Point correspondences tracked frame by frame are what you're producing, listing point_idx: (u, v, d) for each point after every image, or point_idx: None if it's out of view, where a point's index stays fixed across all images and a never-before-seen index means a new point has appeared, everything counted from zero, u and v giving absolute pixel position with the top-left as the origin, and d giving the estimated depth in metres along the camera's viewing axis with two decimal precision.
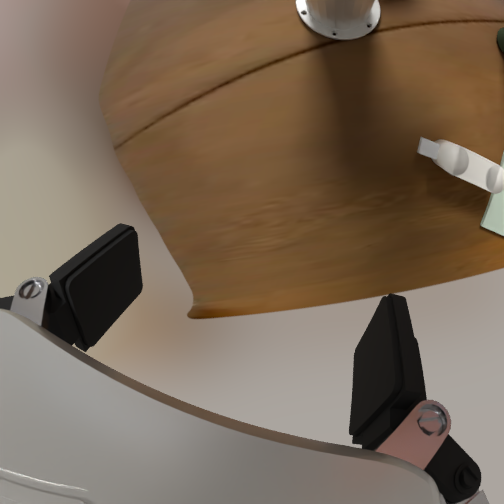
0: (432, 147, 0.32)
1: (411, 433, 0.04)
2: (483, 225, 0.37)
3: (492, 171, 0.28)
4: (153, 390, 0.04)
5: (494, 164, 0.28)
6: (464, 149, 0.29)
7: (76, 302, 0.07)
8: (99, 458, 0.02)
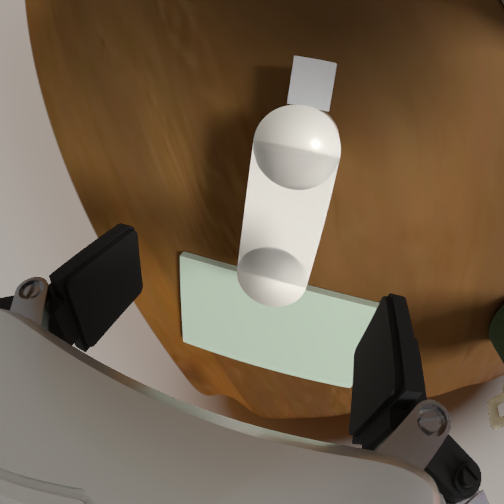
0: (316, 90, 0.14)
1: (411, 433, 0.04)
2: (182, 259, 0.26)
3: (287, 267, 0.17)
4: (153, 390, 0.04)
5: (307, 271, 0.17)
6: (332, 173, 0.13)
7: (76, 302, 0.07)
8: (99, 458, 0.02)
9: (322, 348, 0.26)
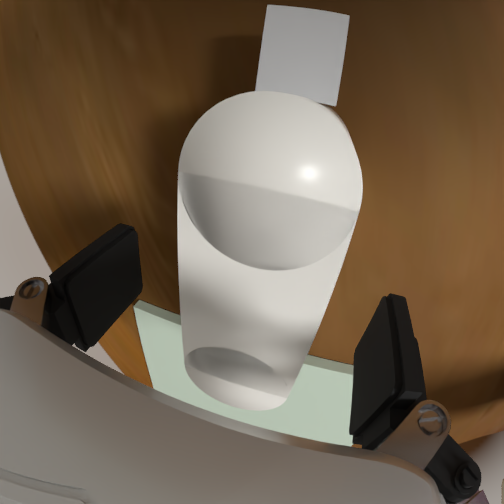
0: (312, 65, 0.07)
1: (411, 433, 0.04)
2: (137, 310, 0.19)
3: (257, 375, 0.10)
4: (153, 390, 0.04)
5: (288, 382, 0.10)
6: (340, 242, 0.06)
7: (76, 302, 0.07)
8: (99, 458, 0.02)
9: (316, 416, 0.19)
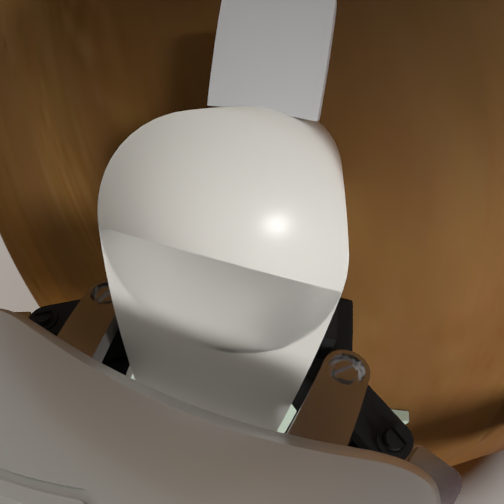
0: (283, 63, 0.05)
1: (329, 387, 0.06)
2: None
3: None
4: (153, 390, 0.04)
5: None
6: (313, 329, 0.05)
7: None
8: (99, 458, 0.02)
9: None
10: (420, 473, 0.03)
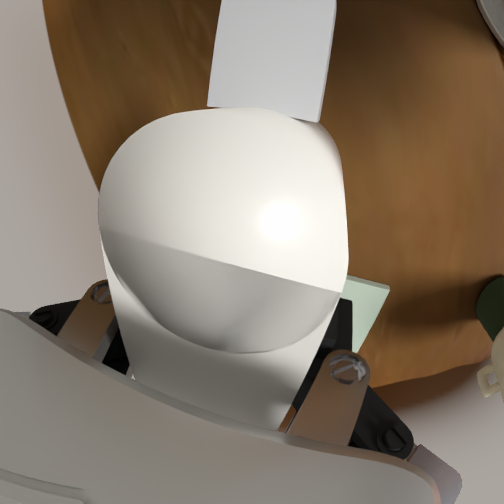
0: (283, 64, 0.05)
1: (329, 387, 0.06)
2: None
3: None
4: (153, 390, 0.04)
5: None
6: (313, 329, 0.05)
7: None
8: (99, 458, 0.02)
9: None
10: (420, 473, 0.03)
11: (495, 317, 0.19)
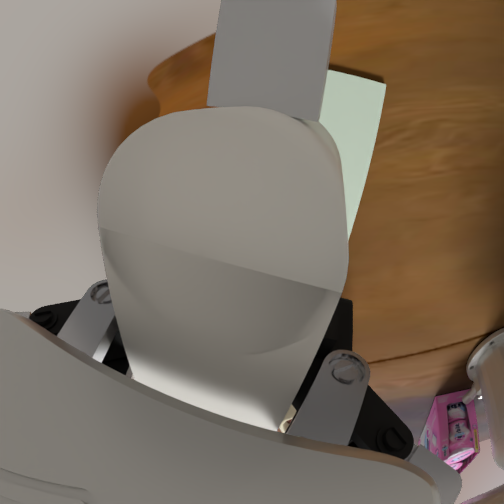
0: (283, 64, 0.05)
1: (329, 387, 0.06)
2: (382, 86, 0.20)
3: None
4: (153, 390, 0.04)
5: None
6: (313, 329, 0.05)
7: None
8: (99, 458, 0.02)
9: None
10: (420, 473, 0.03)
11: None
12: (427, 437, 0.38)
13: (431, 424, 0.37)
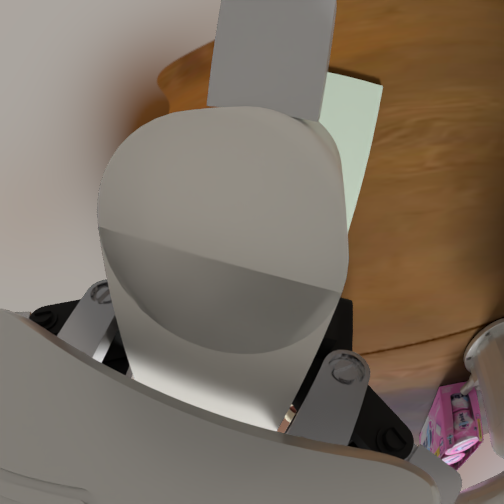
0: (283, 64, 0.05)
1: (329, 387, 0.06)
2: (379, 87, 0.22)
3: None
4: (153, 390, 0.04)
5: None
6: (313, 329, 0.05)
7: None
8: (99, 458, 0.02)
9: None
10: (420, 473, 0.03)
11: None
12: (430, 428, 0.40)
13: (434, 415, 0.38)
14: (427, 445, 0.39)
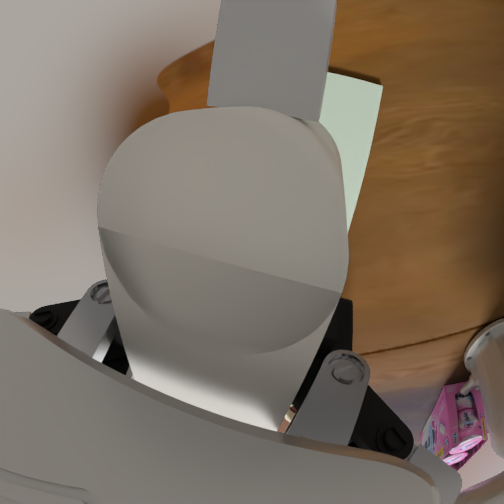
0: (283, 64, 0.05)
1: (329, 387, 0.06)
2: (379, 87, 0.22)
3: None
4: (153, 390, 0.04)
5: None
6: (313, 329, 0.05)
7: None
8: (99, 458, 0.02)
9: None
10: (420, 473, 0.03)
11: None
12: (433, 428, 0.39)
13: (438, 414, 0.38)
14: (429, 445, 0.39)
